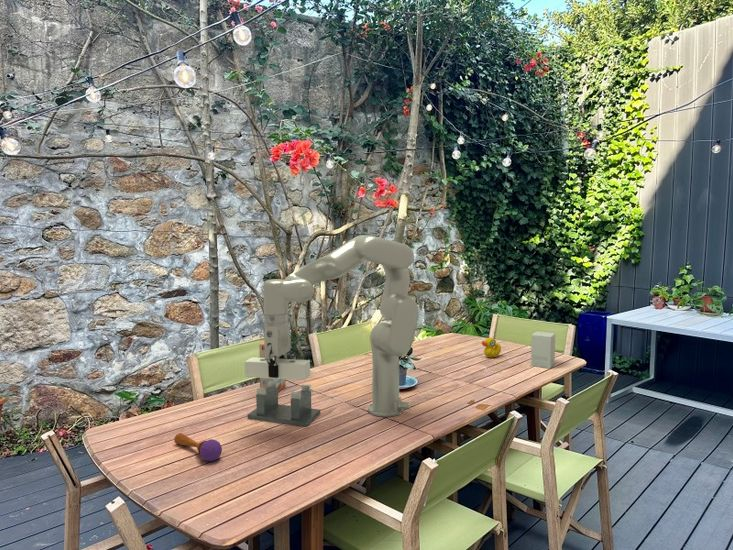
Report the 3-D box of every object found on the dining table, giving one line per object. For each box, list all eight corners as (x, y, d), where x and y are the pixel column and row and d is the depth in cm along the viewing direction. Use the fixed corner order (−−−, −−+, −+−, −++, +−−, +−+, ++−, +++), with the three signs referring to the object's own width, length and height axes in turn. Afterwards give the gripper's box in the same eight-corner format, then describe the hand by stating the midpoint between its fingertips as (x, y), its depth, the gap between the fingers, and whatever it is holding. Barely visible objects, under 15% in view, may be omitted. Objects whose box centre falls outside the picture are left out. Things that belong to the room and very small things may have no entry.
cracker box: (274, 397, 199) (273, 344, 197) (259, 396, 201) (258, 343, 198) (286, 386, 213) (286, 336, 211) (273, 385, 214) (272, 335, 212)
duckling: (485, 360, 251) (486, 340, 250) (478, 357, 256) (478, 337, 255) (503, 357, 257) (504, 337, 255) (495, 354, 261) (496, 335, 260)
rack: (320, 413, 183) (320, 384, 182) (306, 426, 172) (305, 396, 171) (264, 406, 190) (264, 378, 189) (247, 418, 179) (246, 389, 178)
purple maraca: (188, 427, 162) (226, 440, 149) (187, 447, 162) (225, 461, 149) (171, 429, 158) (208, 443, 145) (169, 450, 157) (206, 465, 144)
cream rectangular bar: (310, 375, 167) (309, 359, 166) (305, 380, 162) (304, 364, 161) (252, 372, 171) (251, 356, 170) (245, 376, 166) (244, 360, 165)
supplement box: (554, 364, 245) (556, 333, 243) (550, 368, 237) (551, 336, 235) (535, 361, 250) (536, 330, 248) (530, 365, 242) (531, 334, 240)
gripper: (274, 324, 155) (276, 384, 157) (298, 314, 171) (299, 367, 173) (252, 323, 157) (254, 381, 159) (277, 313, 173) (279, 366, 175)
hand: (277, 373), depth 166 cm, fingers closed on cream rectangular bar, 5 cm apart
